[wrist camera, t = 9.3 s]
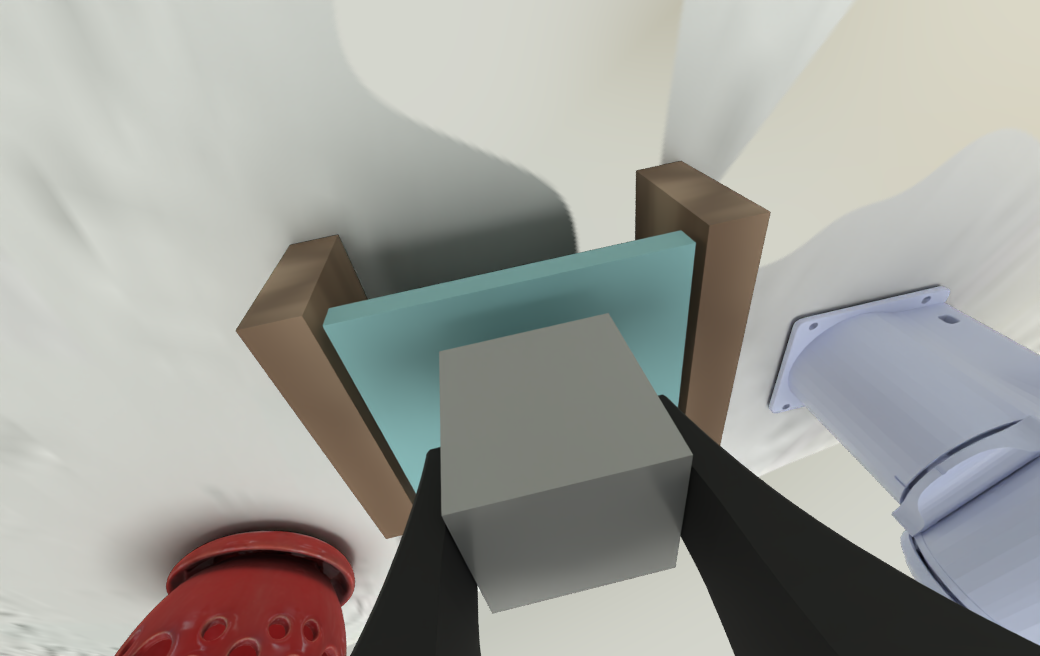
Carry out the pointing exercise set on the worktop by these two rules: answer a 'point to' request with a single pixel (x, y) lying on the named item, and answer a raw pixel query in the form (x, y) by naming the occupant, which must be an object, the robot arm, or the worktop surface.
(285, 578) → the plant pot
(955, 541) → the robot arm
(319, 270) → the hatch stand
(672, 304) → the hatch flap
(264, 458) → the worktop surface
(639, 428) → the granite block
